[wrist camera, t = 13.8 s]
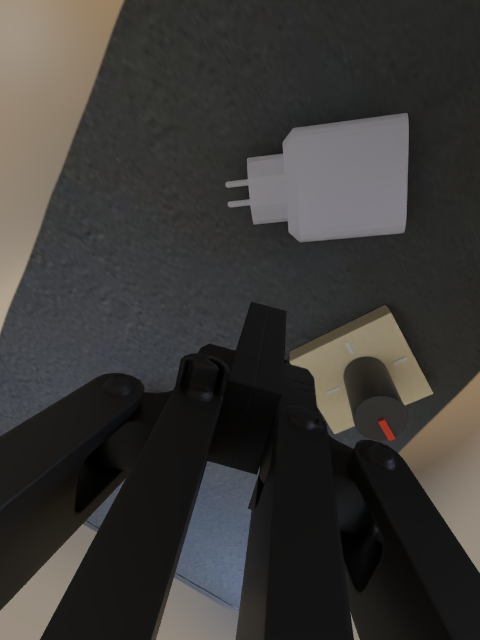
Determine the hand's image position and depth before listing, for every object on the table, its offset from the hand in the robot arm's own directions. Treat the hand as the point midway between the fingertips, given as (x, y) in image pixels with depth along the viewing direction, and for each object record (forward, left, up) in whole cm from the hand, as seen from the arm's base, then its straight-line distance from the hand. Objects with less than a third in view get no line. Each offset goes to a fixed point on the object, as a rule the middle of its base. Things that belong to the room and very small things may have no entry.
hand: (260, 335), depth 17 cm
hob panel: (0, +16, -24) cm, 29 cm away
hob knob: (-1, +16, -22) cm, 27 cm away
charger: (-5, -3, -25) cm, 25 cm away
